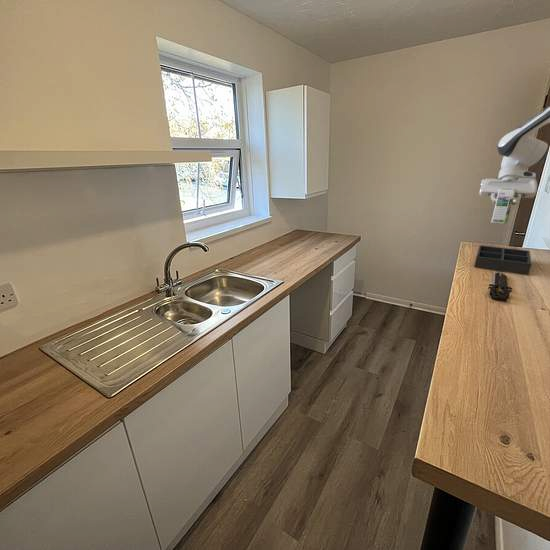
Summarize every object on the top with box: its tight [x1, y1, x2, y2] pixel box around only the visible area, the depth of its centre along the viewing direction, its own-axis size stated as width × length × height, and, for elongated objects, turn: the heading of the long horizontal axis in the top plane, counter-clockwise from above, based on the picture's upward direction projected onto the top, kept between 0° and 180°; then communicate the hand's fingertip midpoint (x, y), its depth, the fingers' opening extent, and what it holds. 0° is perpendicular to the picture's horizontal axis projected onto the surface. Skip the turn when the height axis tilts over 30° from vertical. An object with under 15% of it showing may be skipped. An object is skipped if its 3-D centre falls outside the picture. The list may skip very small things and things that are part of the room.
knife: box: [488, 271, 513, 302], centre depth 105 cm, size 25×6×1 cm, turn 140°
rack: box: [473, 244, 532, 276], centre depth 123 cm, size 17×17×5 cm
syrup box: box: [490, 189, 516, 225], centre depth 132 cm, size 6×6×14 cm
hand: (504, 203), depth 131 cm, fingers closed on syrup box, 6 cm apart
